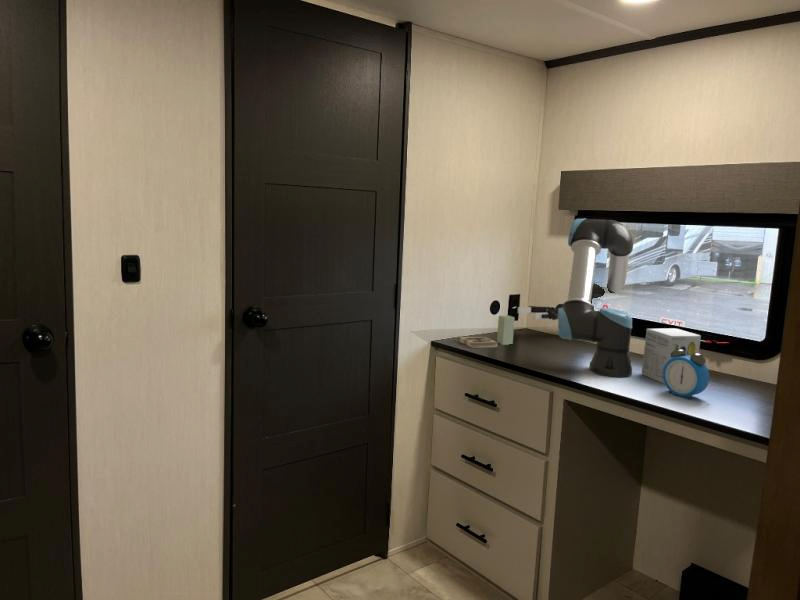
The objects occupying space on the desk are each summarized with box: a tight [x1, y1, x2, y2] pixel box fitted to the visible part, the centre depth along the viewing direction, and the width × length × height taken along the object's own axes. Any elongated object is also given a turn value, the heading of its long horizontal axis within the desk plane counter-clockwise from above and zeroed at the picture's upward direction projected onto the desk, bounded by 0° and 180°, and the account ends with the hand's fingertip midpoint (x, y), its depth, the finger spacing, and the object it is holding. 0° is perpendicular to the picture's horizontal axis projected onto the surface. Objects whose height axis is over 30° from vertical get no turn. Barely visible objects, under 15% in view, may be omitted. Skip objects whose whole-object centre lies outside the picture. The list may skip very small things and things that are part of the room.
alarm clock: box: [663, 349, 710, 400], centre depth 200 cm, size 13×6×15 cm, turn 35°
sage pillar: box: [496, 315, 516, 346], centre depth 266 cm, size 5×5×12 cm
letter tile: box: [459, 336, 499, 349], centre depth 262 cm, size 12×12×2 cm
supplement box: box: [641, 327, 702, 385], centre depth 220 cm, size 13×13×18 cm
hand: (526, 313), depth 269 cm, fingers open, 13 cm apart
